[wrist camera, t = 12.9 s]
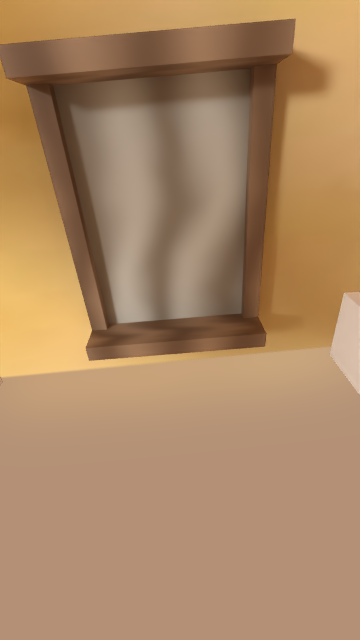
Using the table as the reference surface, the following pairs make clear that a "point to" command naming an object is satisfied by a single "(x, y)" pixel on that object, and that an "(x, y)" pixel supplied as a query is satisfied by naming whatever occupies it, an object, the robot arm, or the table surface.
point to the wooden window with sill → (161, 177)
